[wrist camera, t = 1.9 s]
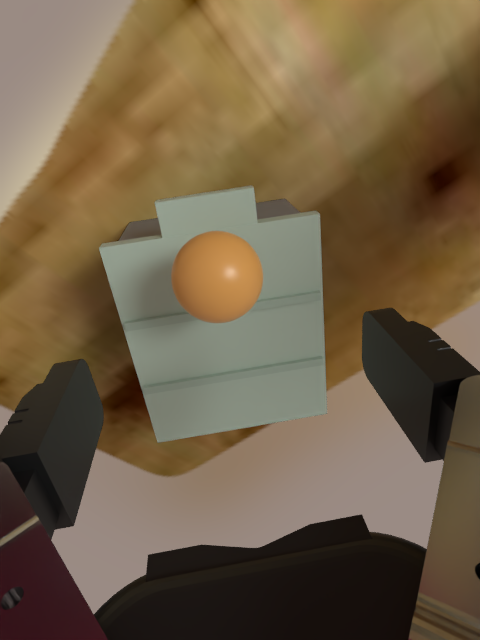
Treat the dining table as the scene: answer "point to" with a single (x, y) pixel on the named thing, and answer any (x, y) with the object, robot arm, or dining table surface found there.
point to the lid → (223, 314)
